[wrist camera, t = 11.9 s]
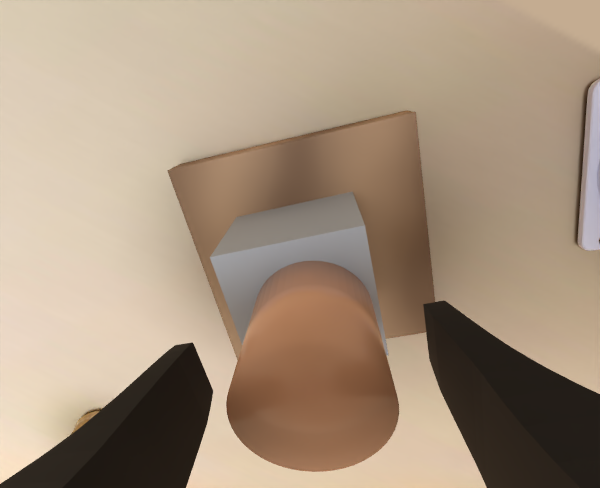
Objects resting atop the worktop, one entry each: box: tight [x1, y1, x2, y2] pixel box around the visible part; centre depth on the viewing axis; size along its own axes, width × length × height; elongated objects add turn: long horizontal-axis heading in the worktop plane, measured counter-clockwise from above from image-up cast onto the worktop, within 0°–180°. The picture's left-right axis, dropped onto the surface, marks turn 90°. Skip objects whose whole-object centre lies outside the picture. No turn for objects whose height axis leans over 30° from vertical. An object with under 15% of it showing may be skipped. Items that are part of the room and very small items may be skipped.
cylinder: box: [226, 261, 399, 472], centre depth 11 cm, size 4×4×4 cm
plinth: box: [168, 111, 435, 360], centre depth 18 cm, size 11×11×2 cm
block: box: [210, 192, 388, 356], centre depth 15 cm, size 6×6×4 cm
